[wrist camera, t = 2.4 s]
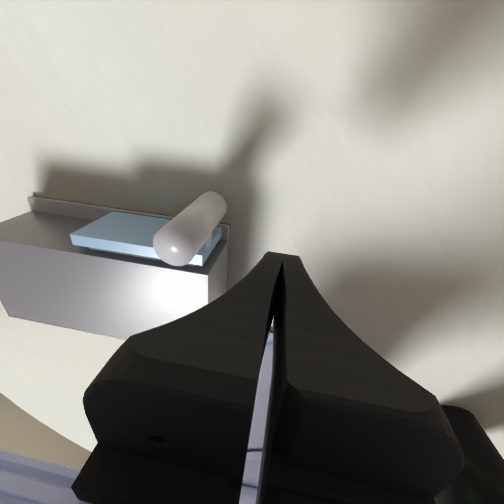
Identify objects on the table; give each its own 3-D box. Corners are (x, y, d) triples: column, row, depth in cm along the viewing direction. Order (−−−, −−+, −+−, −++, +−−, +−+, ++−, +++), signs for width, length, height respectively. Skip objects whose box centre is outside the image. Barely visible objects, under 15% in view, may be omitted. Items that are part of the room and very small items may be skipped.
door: (228, 192, 17) (193, 231, 11) (226, 236, 18) (195, 290, 13) (106, 176, 18) (19, 204, 12) (114, 220, 19) (41, 263, 14)
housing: (229, 224, 19) (208, 259, 14) (225, 309, 23) (208, 356, 18) (18, 194, 20) (-58, 216, 16) (49, 277, 24) (-5, 313, 20)
